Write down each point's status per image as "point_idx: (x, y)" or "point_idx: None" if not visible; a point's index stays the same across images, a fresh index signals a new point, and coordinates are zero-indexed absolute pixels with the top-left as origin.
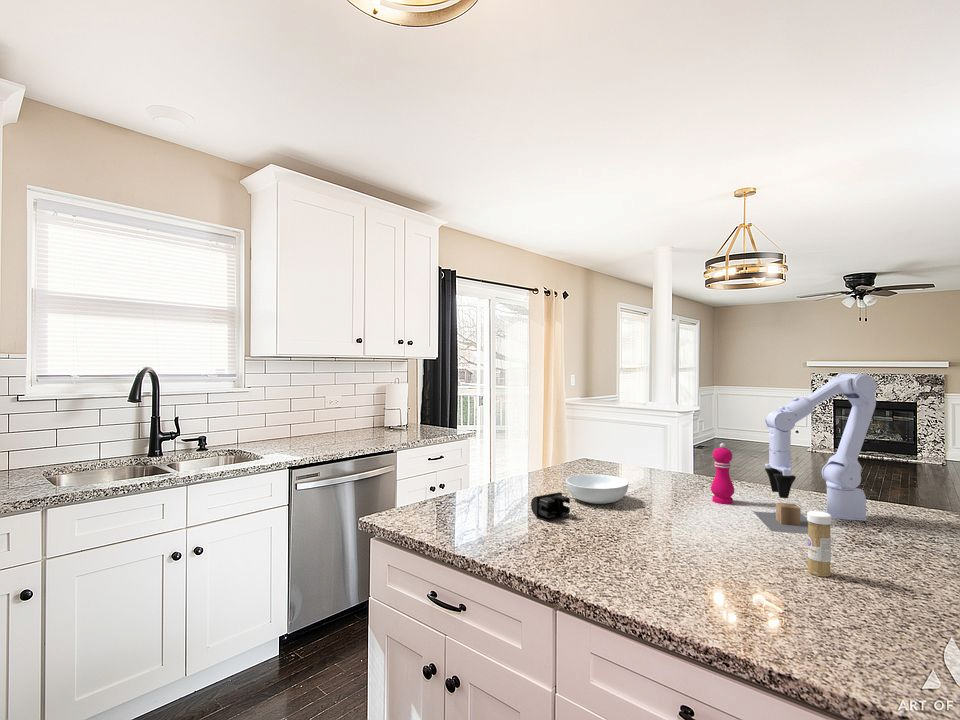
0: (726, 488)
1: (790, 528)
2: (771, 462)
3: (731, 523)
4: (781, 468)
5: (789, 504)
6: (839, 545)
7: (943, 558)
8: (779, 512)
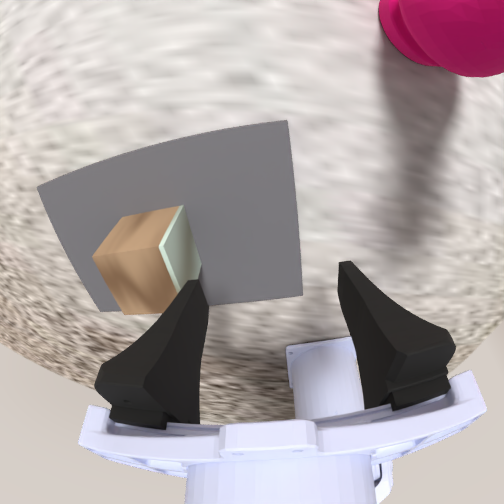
0: (422, 10)
1: (93, 239)
2: (222, 489)
3: (61, 56)
4: (102, 449)
5: (161, 292)
6: (58, 309)
7: None
8: (123, 235)
